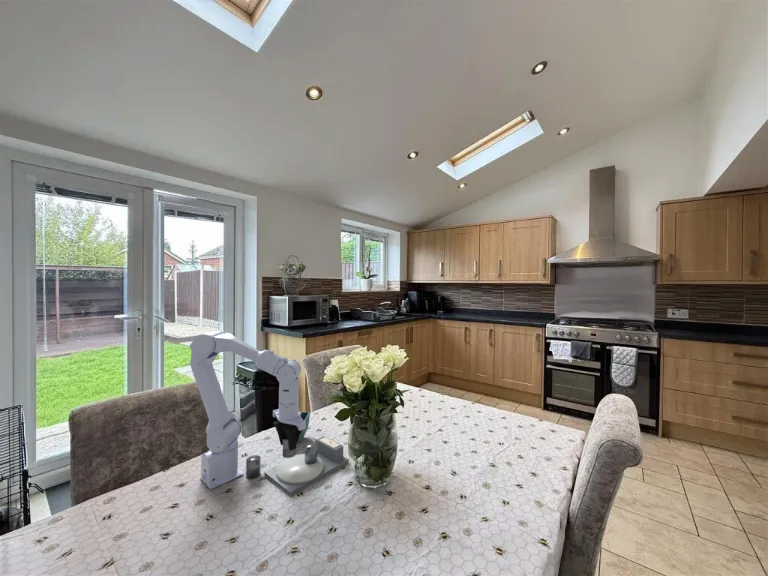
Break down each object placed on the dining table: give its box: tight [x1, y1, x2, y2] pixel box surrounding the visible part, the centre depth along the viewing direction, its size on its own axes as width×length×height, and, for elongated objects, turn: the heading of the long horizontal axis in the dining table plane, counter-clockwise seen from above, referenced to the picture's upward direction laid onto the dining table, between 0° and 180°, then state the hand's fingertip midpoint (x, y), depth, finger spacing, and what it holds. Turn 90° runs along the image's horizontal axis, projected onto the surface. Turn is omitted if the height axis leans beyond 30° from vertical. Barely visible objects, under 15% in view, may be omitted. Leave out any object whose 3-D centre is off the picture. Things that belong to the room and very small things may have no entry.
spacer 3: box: [304, 442, 318, 465], centre depth 100 cm, size 4×4×5 cm
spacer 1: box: [245, 454, 261, 480], centre depth 96 cm, size 4×4×5 cm
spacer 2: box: [282, 436, 297, 459], centre depth 95 cm, size 4×4×5 cm
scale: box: [263, 435, 350, 497], centre depth 99 cm, size 22×14×6 cm, turn 140°
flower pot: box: [290, 411, 311, 444], centre depth 118 cm, size 9×9×9 cm
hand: (288, 446), depth 95 cm, fingers closed on spacer 2, 4 cm apart
